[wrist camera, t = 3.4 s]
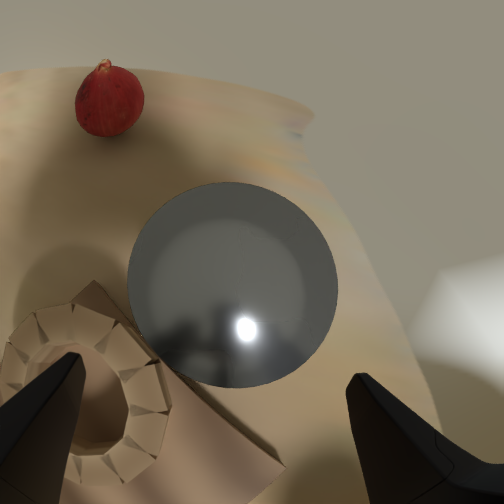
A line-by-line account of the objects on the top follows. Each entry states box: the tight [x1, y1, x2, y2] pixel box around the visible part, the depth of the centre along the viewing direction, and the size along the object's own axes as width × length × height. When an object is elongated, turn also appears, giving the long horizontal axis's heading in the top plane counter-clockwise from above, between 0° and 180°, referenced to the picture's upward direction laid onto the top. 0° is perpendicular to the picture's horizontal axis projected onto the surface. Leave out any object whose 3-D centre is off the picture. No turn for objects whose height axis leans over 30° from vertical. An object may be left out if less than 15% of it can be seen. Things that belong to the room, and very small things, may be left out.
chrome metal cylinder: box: [127, 182, 338, 388], centre depth 13 cm, size 5×5×13 cm
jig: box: [0, 280, 287, 504], centre depth 12 cm, size 15×18×4 cm
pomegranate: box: [75, 59, 144, 137], centre depth 19 cm, size 6×6×8 cm
